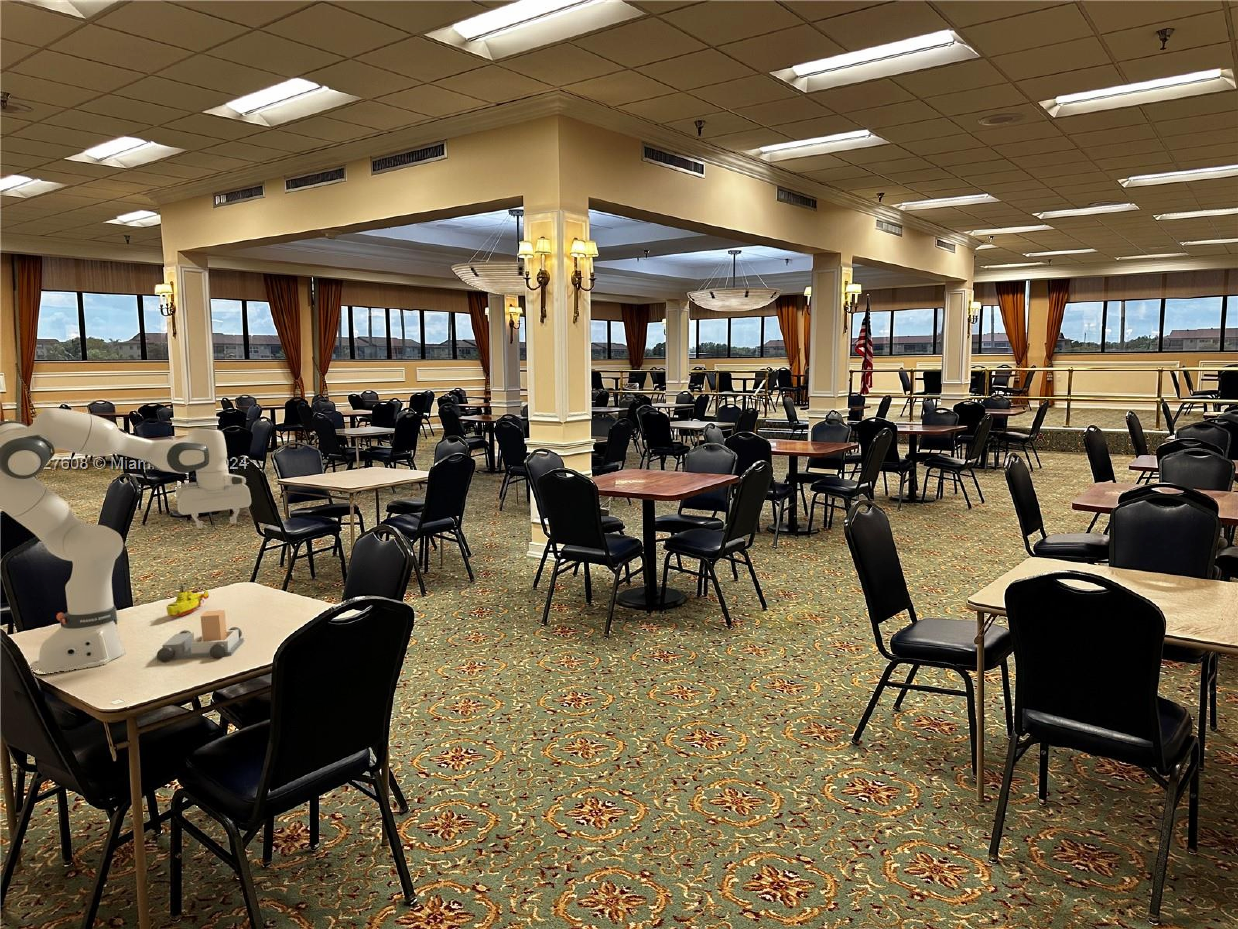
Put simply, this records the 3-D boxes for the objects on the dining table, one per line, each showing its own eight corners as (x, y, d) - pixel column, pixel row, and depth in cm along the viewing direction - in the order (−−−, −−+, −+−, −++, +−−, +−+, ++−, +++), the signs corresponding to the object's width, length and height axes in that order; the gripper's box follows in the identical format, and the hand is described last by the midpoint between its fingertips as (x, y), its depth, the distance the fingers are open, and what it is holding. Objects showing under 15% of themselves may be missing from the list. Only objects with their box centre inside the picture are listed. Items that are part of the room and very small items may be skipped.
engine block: (203, 649, 238) (200, 616, 237) (209, 644, 243) (206, 611, 242) (221, 648, 239) (218, 615, 238) (227, 642, 244) (224, 610, 243)
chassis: (153, 663, 231) (152, 649, 231) (175, 644, 247) (174, 631, 246) (228, 657, 234) (227, 644, 234) (245, 639, 250) (244, 626, 249)
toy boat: (211, 605, 286) (208, 577, 285) (178, 622, 269) (175, 592, 267) (193, 605, 287) (191, 577, 286) (160, 622, 269) (157, 592, 268)
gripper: (177, 485, 241) (181, 531, 243) (251, 477, 254) (254, 521, 256) (172, 483, 246) (176, 528, 247) (244, 475, 259) (248, 519, 261)
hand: (216, 525), depth 252 cm, fingers open, 8 cm apart
